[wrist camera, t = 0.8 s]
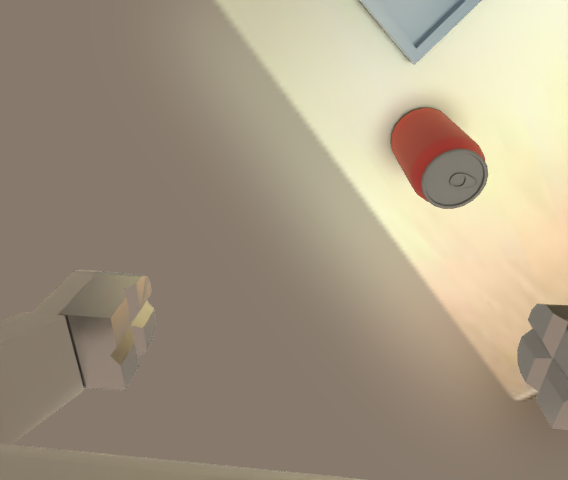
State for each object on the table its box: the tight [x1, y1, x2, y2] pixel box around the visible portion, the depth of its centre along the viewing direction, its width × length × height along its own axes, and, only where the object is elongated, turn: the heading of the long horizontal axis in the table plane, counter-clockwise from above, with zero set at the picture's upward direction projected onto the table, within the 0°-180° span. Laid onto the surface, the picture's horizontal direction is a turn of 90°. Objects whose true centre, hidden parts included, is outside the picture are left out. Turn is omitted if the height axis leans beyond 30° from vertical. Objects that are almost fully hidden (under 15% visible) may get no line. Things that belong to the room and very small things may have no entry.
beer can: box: [391, 108, 488, 209], centre depth 41 cm, size 7×7×12 cm
